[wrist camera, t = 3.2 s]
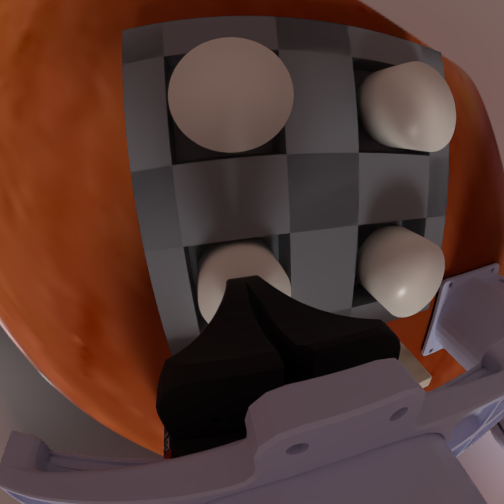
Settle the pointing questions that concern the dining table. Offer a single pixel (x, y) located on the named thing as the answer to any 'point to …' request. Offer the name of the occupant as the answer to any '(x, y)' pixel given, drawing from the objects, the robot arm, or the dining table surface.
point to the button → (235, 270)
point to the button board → (275, 167)
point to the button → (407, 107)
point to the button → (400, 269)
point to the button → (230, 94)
